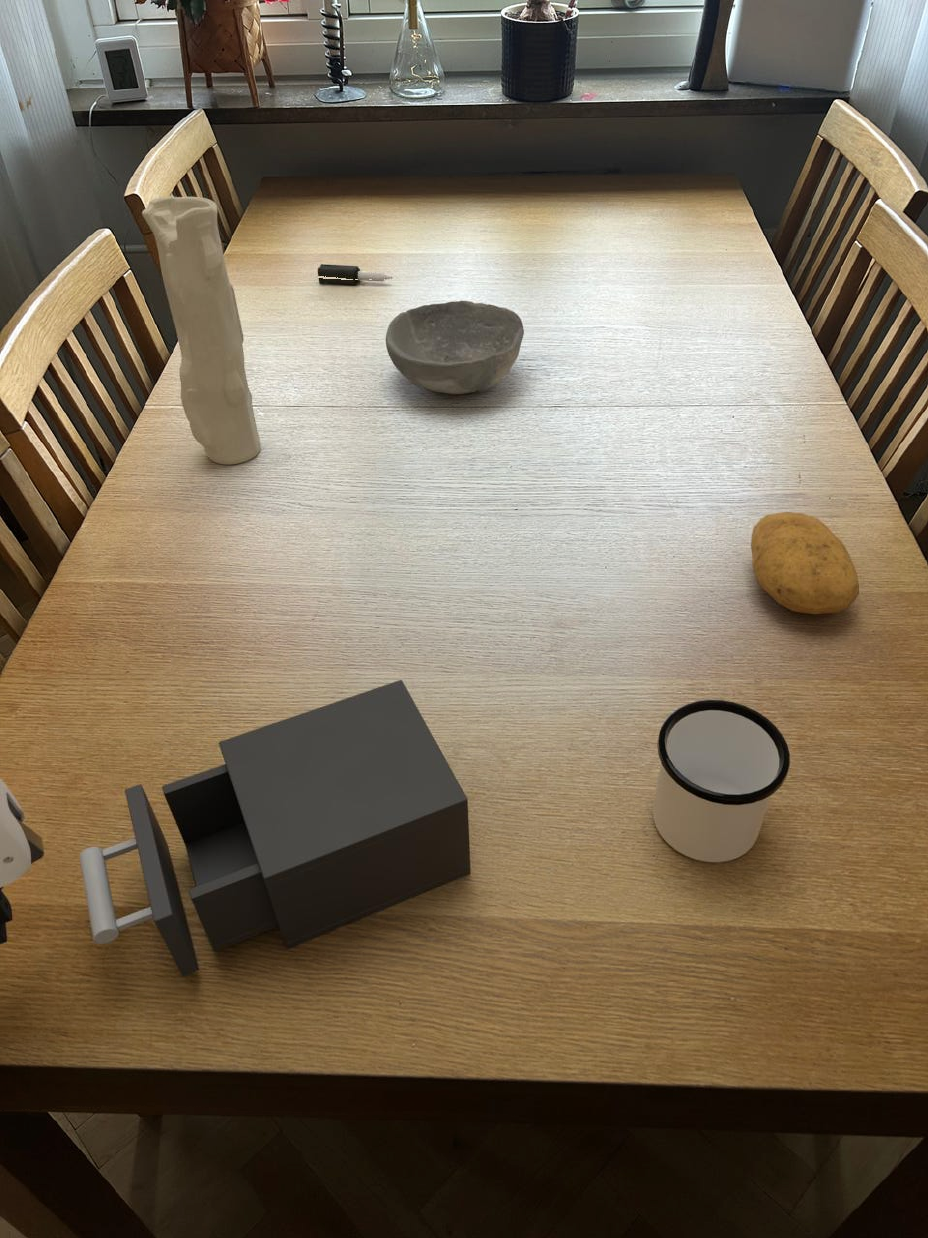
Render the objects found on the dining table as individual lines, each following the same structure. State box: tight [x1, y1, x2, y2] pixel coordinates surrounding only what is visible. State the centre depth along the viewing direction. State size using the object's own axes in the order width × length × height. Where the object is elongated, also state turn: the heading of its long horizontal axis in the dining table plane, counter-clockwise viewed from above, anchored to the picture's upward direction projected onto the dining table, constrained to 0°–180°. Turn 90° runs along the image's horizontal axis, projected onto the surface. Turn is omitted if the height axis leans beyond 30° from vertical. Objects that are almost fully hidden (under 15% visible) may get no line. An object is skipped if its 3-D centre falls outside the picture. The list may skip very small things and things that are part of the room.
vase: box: [141, 195, 261, 465], centre depth 104 cm, size 9×8×30 cm
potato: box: [750, 511, 860, 615], centre depth 91 cm, size 9×13×7 cm
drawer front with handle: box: [78, 763, 279, 978], centre depth 67 cm, size 18×11×8 cm, turn 114°
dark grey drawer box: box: [218, 679, 472, 950], centre depth 70 cm, size 15×13×10 cm
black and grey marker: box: [317, 263, 394, 286], centre depth 148 cm, size 2×2×12 cm
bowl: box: [385, 300, 525, 395], centre depth 123 cm, size 18×18×8 cm
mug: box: [651, 698, 791, 863], centre depth 72 cm, size 12×10×9 cm
